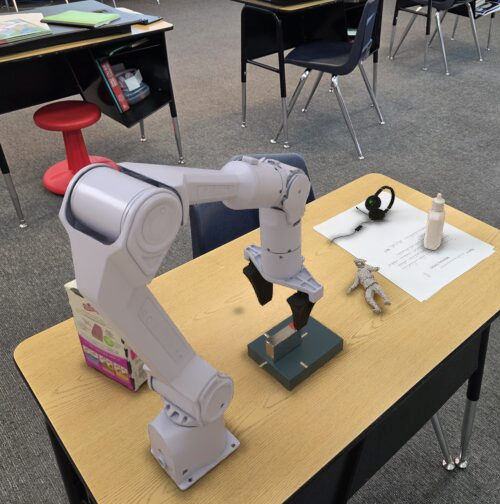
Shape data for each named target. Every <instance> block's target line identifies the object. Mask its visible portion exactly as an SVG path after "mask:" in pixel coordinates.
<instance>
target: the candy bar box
mask: <svg viewBox="0 0 500 504" xmlns="http://www.w3.org/2000/svg"><path fill="white" fill-rule="evenodd" d="M63 287H64V290H65V293H66V297H67V300H68V304H69V308H70V311H71V314H72V315H71V316H72V319H73V322H74V325H75V329H76V332H77V336H78V339H79V343H80V347H81V349H82V353H83V356H84V357H83V358H84V360H85V364H86V365H87V366H88V367H90V368H92V369H94V370H96V371H97V372H99V373H102V374H103V375H105V376H106V377H108V378H110V379H112V380H114V381H115V382H117V383H118V384H120V385H122V386H123V387H126V388H127V389H129V390H131V391H133V392H134V393H135V392H137V391H138V390H140V388H141V387H143V386H144V385H145V384H146V383H148V377H147V373H146V372H145V371H144V369H143V368H142V367H143V365H144V362H143V361H142V360H141V359H140V358H139V357H138V356H137V355H136V354H135V353H134V352H133V350H132V349H131V348H130V347H129V346H128V345H127V344H126V343H125V342H124V341H123V339H122V338H121V337H120V336H119V335H118V334H117V333H116V332H115V331H114V330H113V329H112V327H111V326H110V325H109V324H108V323H107V322H106V321H105V320H104V319H103V318H102V317H101V315H100V314H99V313H98V312H97V311H96V310H95V309H94V308H93V307H92V306H91V305H90V303H89V302H88V301H87V300H86V299H85V298H84V297H83V296H82V295H81V294H80V292H79V290H78V288H77V285H76V279H75V277H74V278H73V279H70V281H68V282H67V283H65V284H63Z"/></svg>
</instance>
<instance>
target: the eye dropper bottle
mask: <svg viewBox="0 0 500 504" xmlns="http://www.w3.org/2000/svg"><path fill="white" fill-rule="evenodd" d="M431 201H432V202H431V207H430V208H429V210H428V213H427V216H426V217H427V218H426V223H425V231H424V237H423V247H424V248H425V249H427V250H432V251H436V250H437V249H438V248H440V246H441V243H442V237H443V232H444V226H445V219H446V209H445V203H446V199H444V198H443V196H442V193H439V192H438V193H437V195H436V197H433V198H432V200H431Z"/></svg>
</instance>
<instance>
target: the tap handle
mask: <svg viewBox="0 0 500 504" xmlns="http://www.w3.org/2000/svg"><path fill="white" fill-rule="evenodd" d="M301 343H302V329H300V330H299V331H297V330H296V329H295V328H294V325H293V322H292V323H290V324H289V325H288V326H286V327H285V328H284V329H282V330H281V331H279V332H278V333H276V334H275V335H273V336H272V337H270V338H269V339H267V340H266V357H268V358H269V359H270V360H271V361H272V362H276V361H277V360H279V359H280V358H281V357H283V356H284V355H286V354H287V353H288V352H290V351H291V350H292V349H294V348H295V347H297V346H298V345H299V344H301Z"/></svg>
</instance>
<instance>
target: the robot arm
mask: <svg viewBox="0 0 500 504" xmlns="http://www.w3.org/2000/svg"><path fill="white" fill-rule="evenodd" d="M115 165H116V166H117V167H118V168H119V169H120V170H121V171H120V170H117V169H116V168H115V167H114V166H112V165H109V164H107V163H101V162H97V163H91V164H88V165H86V166H84V167H83V168H81V169H80V170H79V171H77V172H76V173H75V174H74V175H73V177H72V178H71V179H70V181H69V183H68V185H67V187H66V190H65V193H64V197H63V199H62V203H61V206H60V209H59V212H58V219H59V220H60V222H61V224H62V225H63V228H64V229H65V231H66V233H67V235H68V237H69V243H70V250H71V257H72V263H73V271H74V278H75V279H76V285H77V288H78V290H79V292H80V294H81V295H82V296H83V297H84V298H85V299H86V300H87V301H88V302H89V303H90V305H91V306H92V307H93V308H94V309H95V310H96V311H97V312H98V313H99V314H100V315H101V317H102V318H103V319H104V320H105V321H106V322H107V323H108V324H109V325H110V326H111V327H112V329H113V330H114V331H115V332H116V333H117V334H118V335H119V336H120V337H121V338H122V339H123V341H124V342H125V343H126V344H127V345H128V346H129V347H130V348H131V349H132V350H133V352H134V353H135V354H136V355H137V356H138V357H139V358H140V359H141V360H142V361H143V362H144V365H143V367H142V368H143V369H144V371H145V372H146V373H147V377H148V381H147V386H148V387H149V389H150V390H151V391H152V392H154V393H157V394H158V395H160V400H161V402H163V405H164V406H163V407H162V409H161V410H160V412H158V413H157V415H156V416H155V417H154V418H152V420H151V421H149V422H148V423H147V426H146V427H147V433H148V436H149V441H150V445H151V448H150V454H151V455H152V456H153V458H155V460H156V461H157V462H158V464H159V465H160V466H161V468H163V470H164V471H165V472H166V473H167V474H168V475H169V478H171V480H172V481H173V482H174V484H176V485H177V487H178V488H179V489H180V490H181V491H186V490H188V489H189V488H190V487H191V486H192V485H194V484H195V483H196V482H197V481H199V480H200V479H201V478H202V477H204V476H205V475H206V474H208V473H209V472H210V471H211V470H212V469H214V468H215V467H216V466H217V465H219V464H220V463H221V462H223V460H225V459H227V457H229V456H230V455H231V454H232V453H234V452H235V451H236V450H237V449H238V448H240V447H241V442H240V440H239V439H238V438H237V437H236V436H235V435H234V434H233V433H232V432H231V431H230V430H229V429H228V428H227V427H226V422H225V421H226V420H225V413H226V410H227V409H228V408H229V406H230V404H231V402H232V400H233V396H234V391H235V382H234V379H233V377H232V376H231V375H229V374H227V373H223V372H222V371H220V370H218V369H216V368H215V367H214V366H213V365H211V364H210V363H209V362H208V361H207V360H205V359H204V358H203V357H202V356H201V355H199V354H198V353H197V352H196V350H194V348H193V347H192V345H191V344H190V343H189V341H188V340H187V339H186V337H185V336H184V335H183V333H182V332H181V330H180V329H179V327H178V326H177V325H176V323H175V322H174V321H173V319H172V318H171V317H170V315H169V314H168V313H167V311H166V310H165V308H164V307H163V306H162V305H161V303H160V302H159V301H158V299H157V298H156V296H155V295H154V294H153V292H152V291H151V289H150V288H149V287H148V285H150V284H152V282H153V280H154V278H155V277H156V274H157V272H158V270H159V268H160V267H161V265H162V263H163V261H164V259H165V257H166V256H167V254H168V252H169V250H170V248H171V247H172V245H173V243H174V242H175V239H176V237H177V235H178V233H179V231H180V228H181V227H185V226H186V225H187V224H188V221H189V214H190V206H192V205H200V204H207V203H208V204H209V203H216V202H221V203H222V204H223V205H224V206H225V207H226V208H229V209H232V210H234V211H236V210H237V211H239V210H240V211H241V210H252V209H258V220H259V234H260V235H259V236H260V238H259V239H260V245H257V244H256V243H251V244H250V245H247V246H246V247H244V248H243V259H244V260H245V261H247V262H248V264H247V265H246V266H244V267H243V268H242V274H243V275H244V276H245V277H246V279H247V280H248V281H249V282H250V285H251V286H252V289H253V291H254V293H255V296H256V299H257V301H258V304H259V305H260V306H261V307H264V306H265V305H267V304H268V303H270V302H271V301H273V297H274V285H277V286H282V287H285V288H288V289H292V290H296V291H295V292H294V293H293V294H291V295H289V296H288V297H287V298H286V299H285V300H286V301H285V302H286V303H287V304H288V306H289V308H290V310H291V315H293V325H294V328H295V329H296V330H297V331H299V330H300V329H302V328H303V327H304V326H306V325H307V322H308V319H309V316H311V313H312V311H313V309H314V307H315V305H316V303H317V302H318V301H319V300H321V299H322V298H323V297H324V291H325V290H324V285H323V284H321V283H320V282H319V281H318V280H317V279H316V278H315V277H314V276H313V274H312V273H311V272H310V270H309V269H308V268H307V267H306V266H305V264H304V263H305V256H304V255H302V218H303V217H304V216H305V212H306V204H307V200H308V197H309V196H310V192H311V186H312V182H311V181H310V179H309V176H308V175H307V174H306V172H304V169H302V168H300V167H296V166H293V165H289V164H286V163H284V162H281V161H279V160H277V159H274V158H267V157H266V156H263V157H261V158H259V159H258V158H255V157H253V156H251V155H243V156H242V158H241V160H232V161H229V162H227V163H225V165H223V167H222V168H221V169H217V170H216V169H209V168H199V167H189V166H177V165H169V164H168V165H165V164H156V163H155V164H154V163H142V162H130V161H124V162H117V163H115Z"/></svg>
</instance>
